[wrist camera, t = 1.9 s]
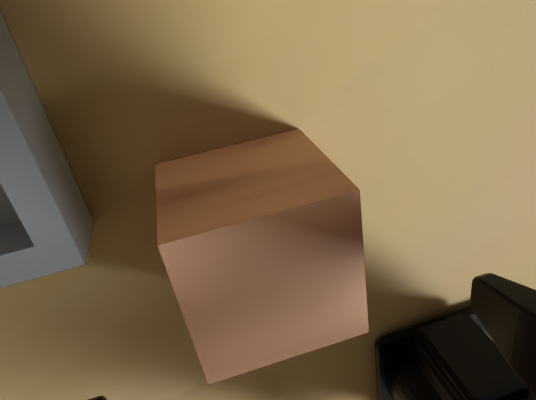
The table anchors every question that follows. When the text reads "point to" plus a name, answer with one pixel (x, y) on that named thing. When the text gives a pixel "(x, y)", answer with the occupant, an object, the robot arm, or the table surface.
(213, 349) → the block
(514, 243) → the table surface
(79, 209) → the tray
